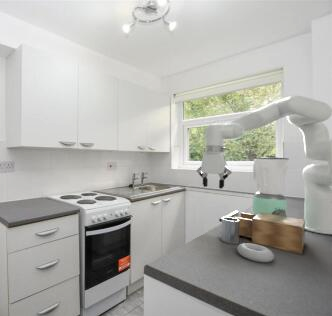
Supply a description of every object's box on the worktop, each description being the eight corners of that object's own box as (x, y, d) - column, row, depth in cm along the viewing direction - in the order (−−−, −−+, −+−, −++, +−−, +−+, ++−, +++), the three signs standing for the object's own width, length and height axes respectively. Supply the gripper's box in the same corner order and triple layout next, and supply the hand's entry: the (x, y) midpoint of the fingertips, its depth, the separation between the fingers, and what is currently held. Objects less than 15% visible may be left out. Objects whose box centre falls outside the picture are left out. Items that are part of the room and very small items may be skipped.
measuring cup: (219, 240, 89) (220, 218, 89) (224, 237, 93) (224, 216, 93) (236, 245, 84) (236, 222, 84) (240, 241, 89) (241, 219, 88)
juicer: (298, 234, 98) (300, 156, 98) (267, 233, 99) (269, 155, 98) (266, 221, 117) (267, 156, 117) (240, 221, 118) (242, 156, 117)
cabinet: (251, 242, 88) (252, 218, 88) (259, 233, 98) (259, 212, 98) (301, 254, 78) (302, 227, 77) (304, 243, 88) (305, 219, 87)
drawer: (216, 231, 98) (216, 213, 98) (225, 225, 107) (226, 209, 107) (265, 242, 85) (266, 222, 85) (271, 234, 95) (271, 216, 95)
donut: (279, 267, 68) (266, 253, 78) (279, 256, 68) (266, 243, 78) (242, 261, 71) (233, 248, 81) (242, 250, 71) (233, 239, 81)
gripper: (237, 150, 102) (236, 188, 102) (198, 150, 114) (197, 184, 114) (232, 149, 96) (231, 190, 97) (192, 149, 109) (191, 186, 109)
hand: (213, 187), depth 105 cm, fingers open, 6 cm apart
